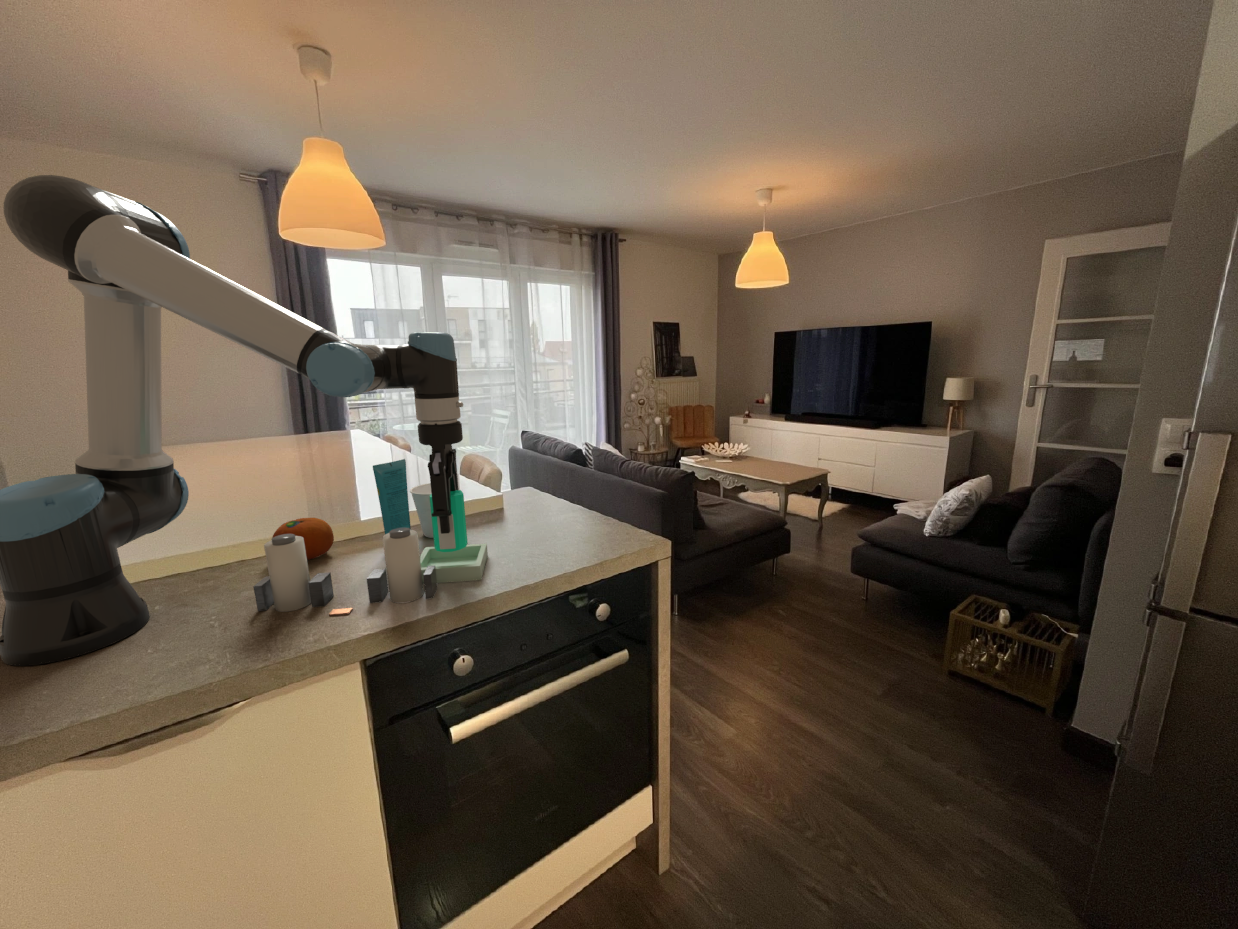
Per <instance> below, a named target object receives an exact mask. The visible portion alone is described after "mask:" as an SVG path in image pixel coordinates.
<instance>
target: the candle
mask: <svg viewBox="0 0 1238 929" xmlns="http://www.w3.org/2000/svg"><path fill="white" fill-rule="evenodd" d="M450 495H451V496H450V499H451V511H452V514H453V522H454V533H455V544H456V548H454V549H440V543H439V533H438V523H437V517H432V513H433V503H432V494H431V495H430V496H429V497H430V507H431V517H432V527H433V537H434V538H433V547H435V549H436V551H440V552H453V551H457V550H461V549H463V548H465V547H466V546H467V545H469V544H468V543H469V542H468V532H467V523H466V522H467V519H466V508H465V498H464V496H465V495H464V492H463V491H462V490H461V489H459V490H455V491H450Z"/></svg>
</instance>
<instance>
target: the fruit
mask: <svg viewBox="0 0 1238 929" xmlns="http://www.w3.org/2000/svg"><path fill="white" fill-rule="evenodd" d="M282 534H295V536H301V537H303V538H304V544H305V551H306V557H307V561H310V560H313V559H316V558H318V557H321V556H323V555H325V554H326V553H327V552H329V550H330V549H331V547H332V546H333V544H334V542H335V541H334V540H335V537H334V536H335V535H334V531H333V529H332V527H331V526H330V524H329V523H328V522H326V521H325V520H323V519H322V518H317V517H302V518H301V517H300V518H296V519H292V520H288V521H287V522H284V523H283V524H281V525H280V526H278V528H277V529H276V530H275V531H274V532H273V535H272V537H271V539H272V538H273V537H275V536H278V535H282Z"/></svg>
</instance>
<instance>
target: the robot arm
mask: <svg viewBox="0 0 1238 929" xmlns="http://www.w3.org/2000/svg"><path fill="white" fill-rule="evenodd" d="M3 216H4V218H5V222H6V224H7V226H8V228H9V230H10V231H11V233H12V234H13V235H14V238H16V239H17V241H19V243H21V244H22V245H23V246H24V247H25V248H26V249H27V250H28V251H30V252H31V253H33V254H34V255H36V256H38V257H39V258H40V259H43V260H45V261H47V262H49V263H51V264H53V265H55V266H58V267H59V268H62V269H65V270H67V281H68V283H70V284H71V285H72V286H73V287H74V288H76V289H77V290H78V291H79V292H80V294H82V295H83V309H84V310H83V314H84V316H83V317H84V341H85V342H84V344H85V345H84V346H85V347H84V348H85V371H86V372H85V373H86V374H85V375H86V376H85V377H86V378H85V380H86V401H87V402H86V405H87V406H86V407H87V409H86V410H87V432H88V433H87V436H88V438H87V439H88V441H87V442H88V449H87V451H85V452H83V453H82V454H81V455H79V456H78V457H76V458H75V459H74V461H75V462H74V463H75V467H74V468H75V469H74V470H75V473H70V474H68V473H67V474H60V475H52V476H44V477H41V478H38V479H35V480H27V481H23V482H19V483H15V484H12V485H10V486H9V485H8V486H5V487H4V488H1V489H0V589H1V592H2V595H3V598H4V602H5V607H4V612H3V617H2V622H1V623H2V624H1V635H0V658H1V660H2V662H3V664H6V665H10V666H18V667H19V666H21V667H22V666H36V665H43V664H49V663H55V662H59V661H63V660H67V659H71V658H74V657H78V656H83V655H85V654H89V653H91V652H95V651H97V650H100V649H103V648H106V647H107V646H110V645H113V644H114V643H116V642H119V641H121V640H124V639H126V638H127V637H129V636H131V635H133V634H134V633H136V632H137V631H138V630H141V629H142V628H143V627H144V626H145V625H146V624H147V623H148V622H149V620H150V616H151V615H150V612H149V607H148V604H147V603H146V601H145V599H143V597H140V595H139V594H138V592H137V591H136V589H135V588H134V587H133V586H132V584H131V582H129V580H128V579H127V577H126V576H125V574H124V572H123V569H122V564H121V560H120V556H119V552H118V549H119V548H121V547H123V546H124V545H127V544H129V543H131V542H133V541H135V540H138V539H139V538H141V537H144V536H146V535H149V534H152V533H154V532H157V531H159V530H161V529H163V528H164V527H166V526H168V525H169V524H170V523H171V522H173V521H174V520H176V519H177V518H178V517H179V516H180V515H181V514H182V513H183V511H184V510H185V508H186V506H187V504H188V502H189V497H190V496H189V495H190V494H189V487H188V483H187V481H186V479H185V478H184V476H181V475H180V471H178V470H177V469H176V468H174V467H175V466H174V463H175V462H174V458H173V457H172V456H171V455H169V454H167V453H166V452H164V451H163V448H162V445H163V443H162V441H163V440H162V439H163V438H162V434H163V433H162V429H163V428H162V424H163V423H162V419H163V418H162V308H163V309H166V310H167V311H170V312H172V313H174V314H175V315H178V316H179V317H182V318H184V319H185V320H188V321H190V322H192V323H194V324H196V325H198V326H201V327H202V328H205V329H206V330H209V331H211V332H212V333H215V334H217V335H219V336H220V337H223V338H225V339H227V340H228V341H229V340H230V341H231V342H234V344H235V343H236V344H238V345H240V346H242V347H243V348H245V349H248V350H250V351H252V352H254V353H256V354H258V355H260V356H262V357H263V358H266V359H268V360H270V361H272V362H275V363H276V364H279V365H280V366H282V367H285V368H286V369H288V370H291V371H293V372H295V373H297V374H299V375H301V376H302V377H305V378H306V379H308V380H309V381H310V383H311V384H312V386H314V387H315V388H316V389H317V390H318V391H320V392H321V393H323V394H325V395H328V396H331V397H336V398H351V397H356V396H359V395H361V394H364V393H369V392H373V391H377V390H391V389H392V390H396V389H397V390H398V389H413V392H414V396H413V397H414V405H415V417H416V420H417V421H418V422H419V423H418V424H417V433H418V441H419V443H420V444H421V445H423V446H430V447H431V454H429V459H428V460H429V462H428V463H427V468H428V473H429V480H430V481H429V483H431V493H432V503H433V513H432V517H437V523H438V533H439V543H440V549H454V548H456V544H455V533H454V522H453V514H452V511H451V499H450V496H451V495H450V491H455V490H460V489H459V478H458V466H457V449H456V448H453V445H454V444H458V443H461V442H462V441H463V438H464V437H463V426H462V424H463V423H462V422H461V421H460V420H459V419H460V418H461V416H462V415H461V408H462V407H464V403H463V401H459V400H460V391H459V376H458V375H459V374H458V361H457V360H458V358H457V355H456V348H455V341H454V337H453V336H452V335H451V334H450V333H448V332H447V333H446V332H438V331H437V332H435V331H434V332H433V331H432V332H430V331H427V332H411V333H409V334H408V341H407V343H404V344H398V345H397V344H359V343H353V342H351V341H349V340H347V339H345V338H343V337H341V336H339V335H337V334H336V333H334V332H331V331H329V330H327V329H326V328H324V327H322V326H320V325H318V324H316V323H314V322H312V321H311V320H308V319H306V318H305V317H302V316H300V315H299V314H297V313H295V312H293V311H291V310H289V309H287V308H285V307H283V306H281V305H279V304H278V303H275V301H272V300H270V299H268V298H266V297H264V296H262V295H261V294H258V293H256V292H255V291H253V290H251V289H248V288H247V287H244V286H243V285H241V284H239V283H237V282H235V281H234V280H231V279H229V278H228V277H225V276H223V275H222V274H220V273H218V272H216V271H214V270H212V269H211V268H208V267H207V266H205V265H202V264H200V263H199V262H197V261H195V260H192V259H191V254H190V248H189V246H188V243H187V240H186V239H185V237H184V235H183V234H182V232H181V231H180V230H179V228H178V227H177V226H176V225H175V223H173V222H172V221H171V220H170V219H168V218H167V216H164V215H163V214H161V213H159V212H158V211H155V210H153V209H152V208H151V207H149V206H147V205H145V204H143V203H141V202H139V201H135V200H131V199H128V198H125V197H124V196H121V195H119V194H115V193H112V192H110V191H106V190H105V189H102V188H98V187H96V186H93V185H91V184H89V183H87V182H85V181H81V180H79V179H75V178H73V177H72V178H71V177H69V176H63V175H54V174H40V175H33V176H28V177H26V178H23V179H22V180H19V181H18V182H17V183H15V184H14V185H13V186H11V187H10V189H9V190H8V191H7V192H6V194H5V197H4V201H3Z"/></svg>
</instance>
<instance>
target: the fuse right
mask: <svg viewBox="0 0 1238 929" xmlns="http://www.w3.org/2000/svg"><path fill="white" fill-rule="evenodd" d="M419 543H420V542H419V536H418V531H417V530H413V529H411V530H410V528H406V527H402V528H396V529H393V530H391V531H390V532H389V533H387V534H386V535H385V534H384V535H383V536H382V544H383V545H382V546H383V551H384V552H383V553H384V560H385V569H386V573H387V581H388V590H389V592H388V595H389V600H390V601H391V602H393V603H396V604H397V603H398V604H404V603H405V604H406V603H410V602H414V601H417V600H418V599H420V598H421V597H422V596H423V595H424V594H425V589H424V584H423V581H422V571H421V561H420V555H421V553H420V545H419Z"/></svg>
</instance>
